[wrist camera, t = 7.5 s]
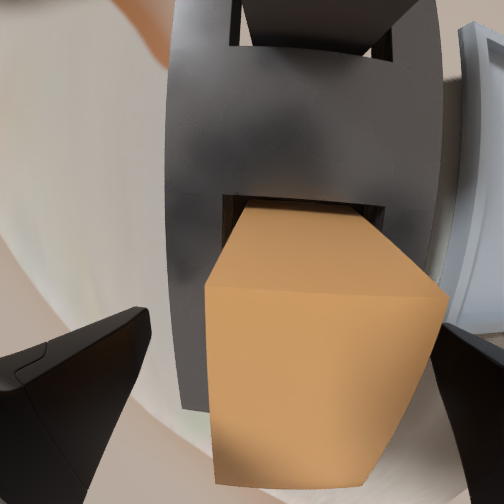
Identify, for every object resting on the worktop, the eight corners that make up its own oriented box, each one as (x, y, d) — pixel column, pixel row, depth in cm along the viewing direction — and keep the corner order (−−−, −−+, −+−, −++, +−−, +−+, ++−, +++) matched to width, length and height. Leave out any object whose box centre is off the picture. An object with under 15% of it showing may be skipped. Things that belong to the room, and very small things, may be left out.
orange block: (330, 335, 14) (361, 486, 6) (243, 330, 14) (215, 483, 7) (350, 206, 12) (449, 297, 4) (249, 198, 12) (204, 285, 5)
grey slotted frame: (365, 384, 15) (375, 417, 12) (193, 375, 15) (182, 408, 13) (394, -72, 7) (409, -97, 5) (209, -89, 7) (199, -117, 5)
